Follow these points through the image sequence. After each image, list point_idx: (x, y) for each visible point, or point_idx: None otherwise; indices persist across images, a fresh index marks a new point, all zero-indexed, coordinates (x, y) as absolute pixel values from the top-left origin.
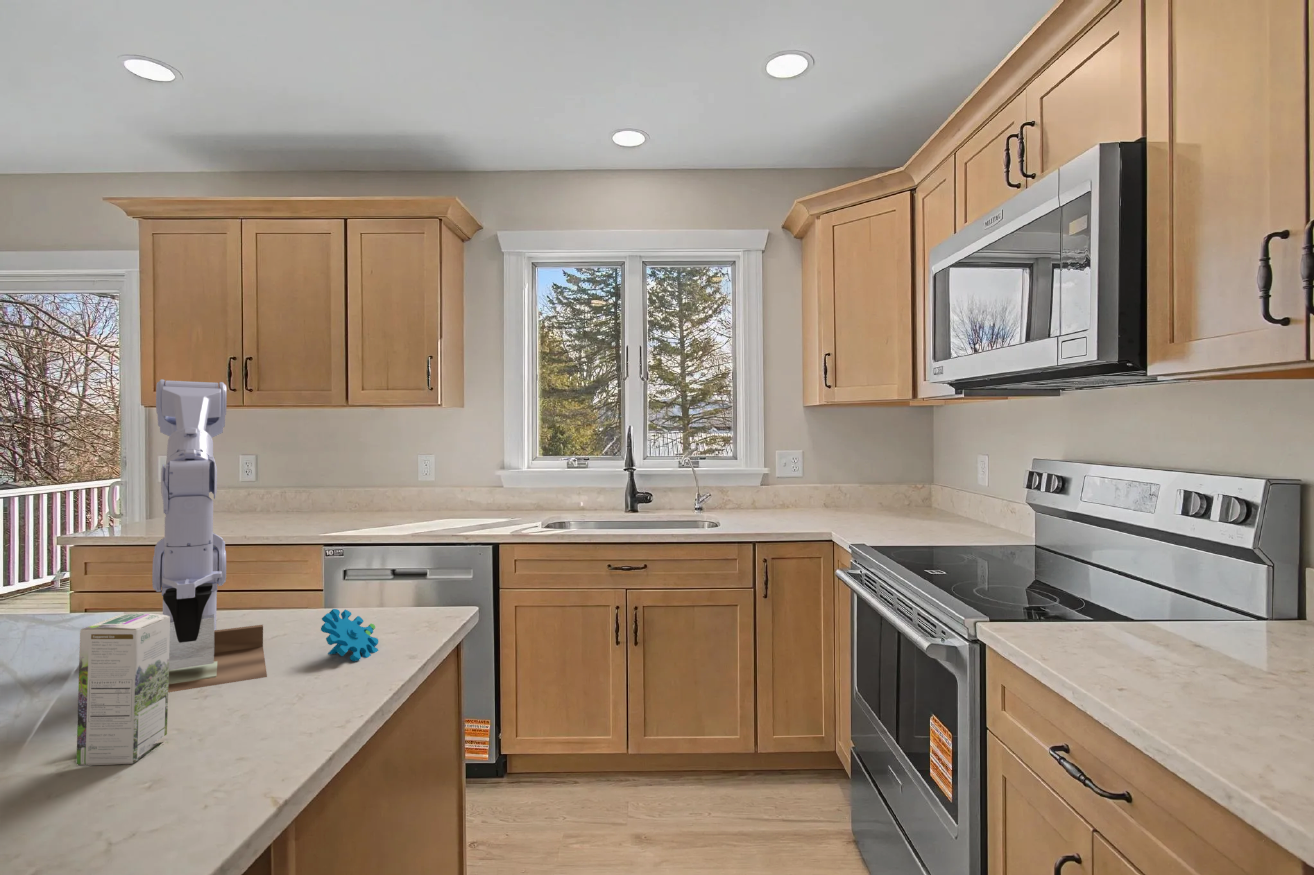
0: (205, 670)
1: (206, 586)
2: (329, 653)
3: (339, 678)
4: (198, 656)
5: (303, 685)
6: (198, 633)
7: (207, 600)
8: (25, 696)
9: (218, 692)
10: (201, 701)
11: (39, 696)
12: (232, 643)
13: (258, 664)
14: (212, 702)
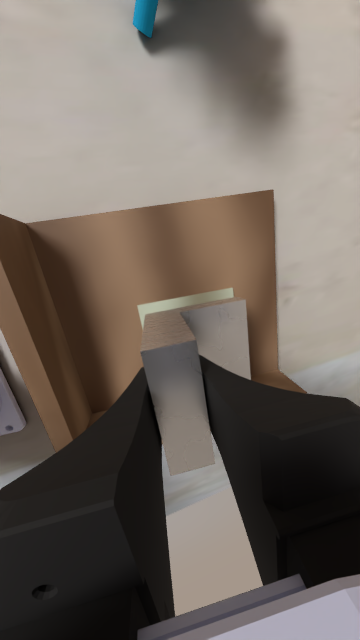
0: None
1: (129, 531)
2: (153, 14)
3: (307, 22)
4: (244, 327)
5: (312, 116)
6: (206, 358)
7: (324, 397)
8: (183, 498)
9: (275, 273)
10: (304, 290)
11: (189, 485)
12: (39, 294)
13: (181, 217)
14: (316, 273)
